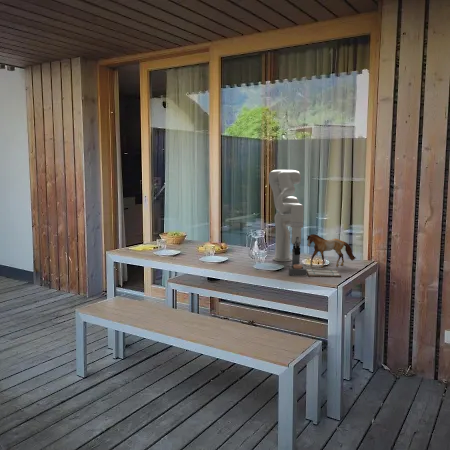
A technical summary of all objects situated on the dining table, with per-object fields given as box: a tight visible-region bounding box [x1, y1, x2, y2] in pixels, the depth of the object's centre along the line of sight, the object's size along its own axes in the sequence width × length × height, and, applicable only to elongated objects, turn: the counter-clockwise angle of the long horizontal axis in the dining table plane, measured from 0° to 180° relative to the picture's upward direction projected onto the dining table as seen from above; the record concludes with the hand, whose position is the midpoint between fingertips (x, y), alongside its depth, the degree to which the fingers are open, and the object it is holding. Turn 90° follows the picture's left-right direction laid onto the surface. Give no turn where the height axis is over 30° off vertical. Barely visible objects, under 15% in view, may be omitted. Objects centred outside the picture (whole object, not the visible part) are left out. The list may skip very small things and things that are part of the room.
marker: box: [291, 248, 301, 266], centre depth 279 cm, size 5×5×12 cm
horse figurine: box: [306, 233, 357, 268], centre depth 286 cm, size 31×8×21 cm, turn 96°
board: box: [306, 268, 342, 278], centre depth 268 cm, size 15×18×1 cm
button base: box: [288, 265, 308, 276], centre depth 268 cm, size 9×9×4 cm
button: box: [293, 263, 303, 269], centre depth 268 cm, size 5×5×2 cm
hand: (296, 253), depth 277 cm, fingers open, 9 cm apart
